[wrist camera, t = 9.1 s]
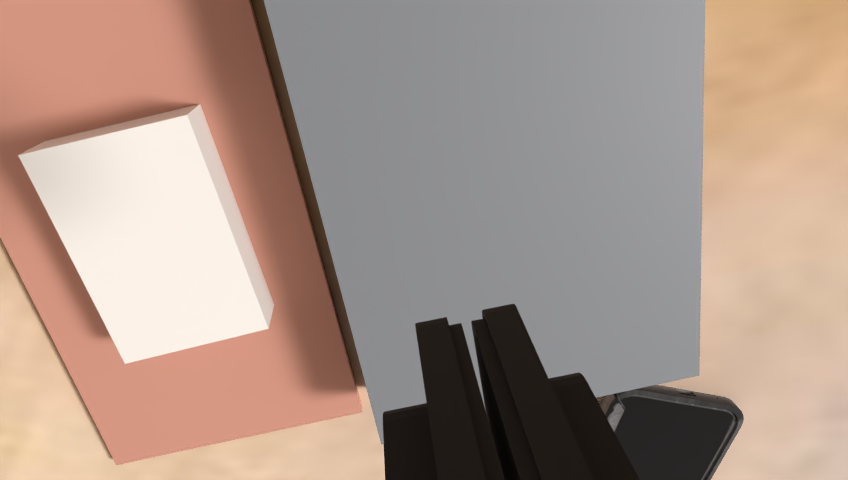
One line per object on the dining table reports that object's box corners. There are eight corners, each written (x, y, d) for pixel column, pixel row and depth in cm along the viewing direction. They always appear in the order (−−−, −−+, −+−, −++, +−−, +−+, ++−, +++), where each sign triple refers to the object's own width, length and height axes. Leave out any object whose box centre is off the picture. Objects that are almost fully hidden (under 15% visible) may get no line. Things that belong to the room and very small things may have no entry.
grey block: (244, -135, 20) (221, -159, 17) (646, -209, 21) (708, -249, 17) (377, 386, 29) (381, 444, 26) (656, 326, 30) (699, 375, 26)
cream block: (187, 114, 21) (200, 103, 23) (18, 155, 21) (44, 141, 23) (268, 328, 25) (274, 304, 27) (124, 363, 25) (140, 337, 27)
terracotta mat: (-162, -97, 20) (-171, -98, 19) (205, -164, 20) (203, -167, 20) (119, 458, 29) (116, 464, 29) (361, 406, 30) (362, 412, 29)
